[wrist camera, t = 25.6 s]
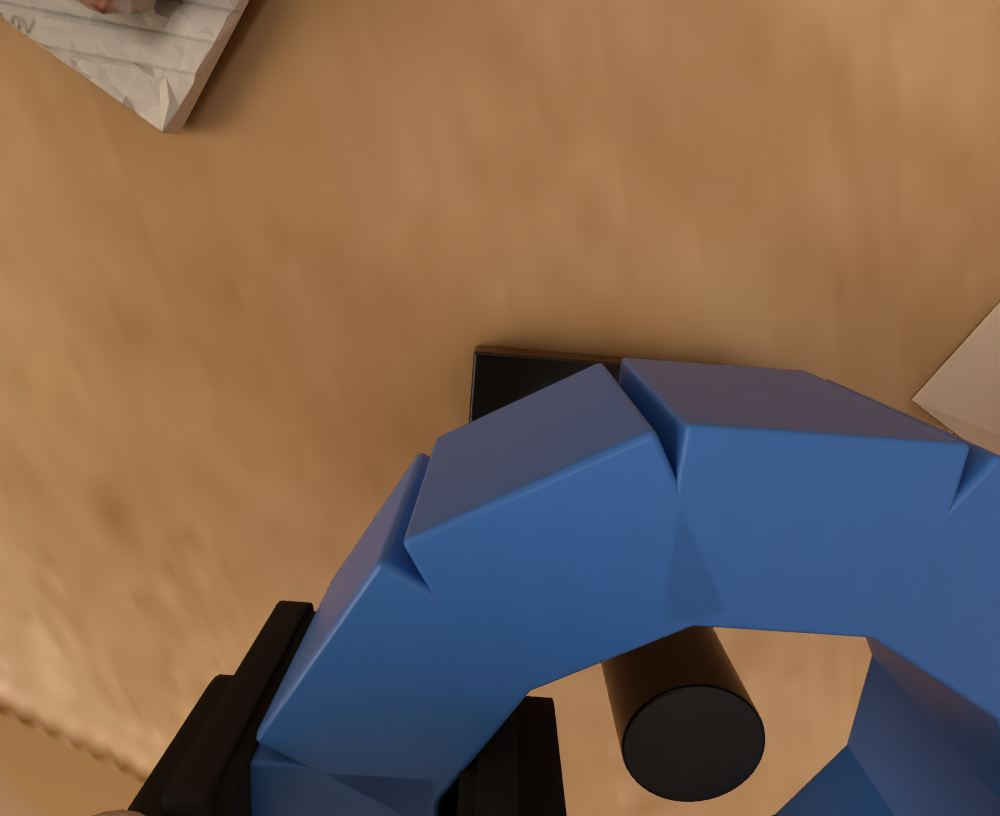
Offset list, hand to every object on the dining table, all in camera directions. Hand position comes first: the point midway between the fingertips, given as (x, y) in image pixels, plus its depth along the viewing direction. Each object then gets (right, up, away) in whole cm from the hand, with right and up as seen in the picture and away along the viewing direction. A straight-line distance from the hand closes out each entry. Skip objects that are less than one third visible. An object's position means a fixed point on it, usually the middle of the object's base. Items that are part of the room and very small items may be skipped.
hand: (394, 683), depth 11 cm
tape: (+5, 0, +1) cm, 5 cm away
